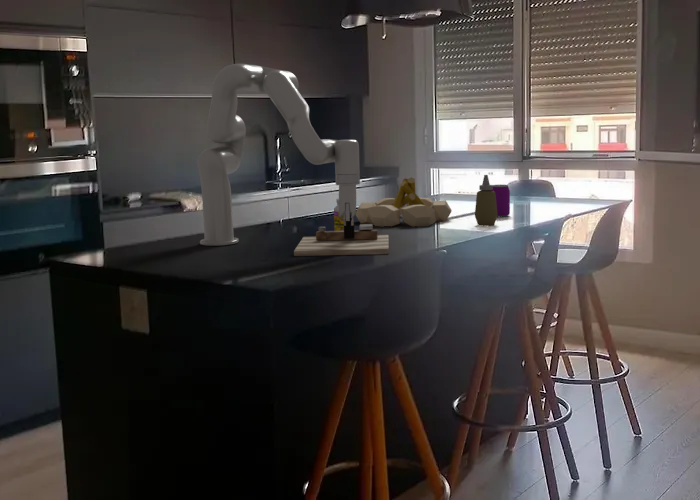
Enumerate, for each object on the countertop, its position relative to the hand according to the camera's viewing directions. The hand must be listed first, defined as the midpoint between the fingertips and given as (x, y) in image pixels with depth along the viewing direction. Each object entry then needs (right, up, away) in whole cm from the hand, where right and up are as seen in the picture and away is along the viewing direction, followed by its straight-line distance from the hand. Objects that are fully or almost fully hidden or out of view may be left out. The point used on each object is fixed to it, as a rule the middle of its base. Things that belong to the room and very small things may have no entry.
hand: (349, 238), depth 260 cm
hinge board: (-2, -3, -1) cm, 4 cm away
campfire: (+21, +7, +56) cm, 60 cm away
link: (-1, 0, +3) cm, 3 cm away
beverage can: (+58, +9, +61) cm, 85 cm away
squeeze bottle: (+49, +5, +38) cm, 62 cm away
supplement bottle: (-2, +1, +21) cm, 21 cm away
